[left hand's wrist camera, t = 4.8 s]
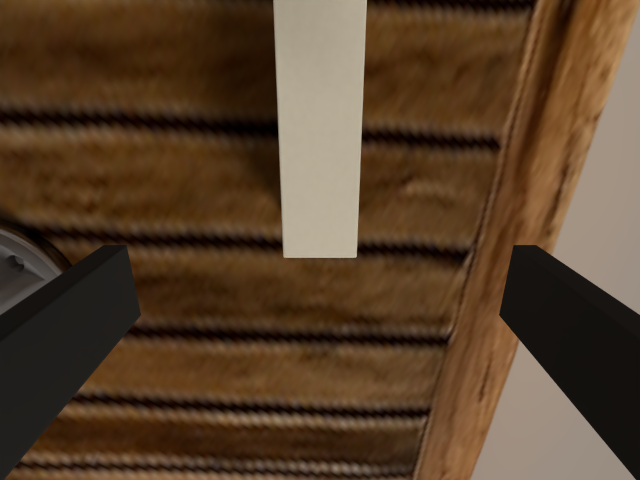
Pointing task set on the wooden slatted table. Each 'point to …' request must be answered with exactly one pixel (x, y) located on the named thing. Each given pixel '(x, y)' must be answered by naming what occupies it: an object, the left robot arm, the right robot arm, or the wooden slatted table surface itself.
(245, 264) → the wooden slatted table surface
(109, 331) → the left robot arm
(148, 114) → the wooden slatted table surface
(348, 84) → the beam
